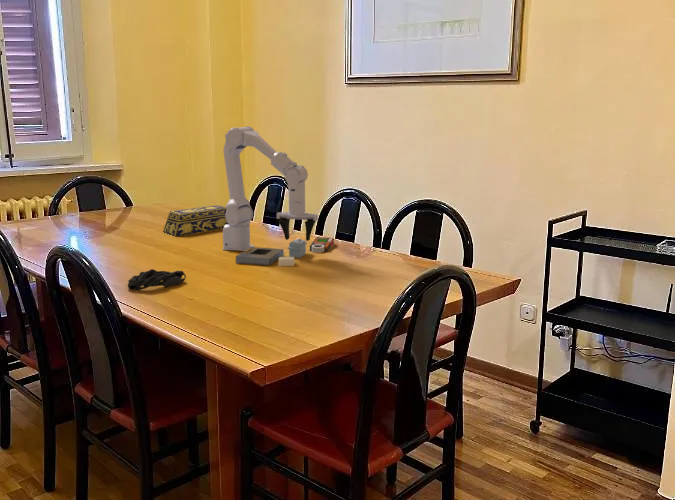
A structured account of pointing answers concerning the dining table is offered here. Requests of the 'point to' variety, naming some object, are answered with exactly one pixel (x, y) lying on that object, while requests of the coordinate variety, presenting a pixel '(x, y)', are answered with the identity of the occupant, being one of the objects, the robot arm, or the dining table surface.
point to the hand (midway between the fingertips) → (297, 239)
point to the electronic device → (321, 244)
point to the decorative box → (195, 220)
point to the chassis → (259, 256)
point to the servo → (297, 248)
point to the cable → (156, 279)
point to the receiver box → (286, 261)
